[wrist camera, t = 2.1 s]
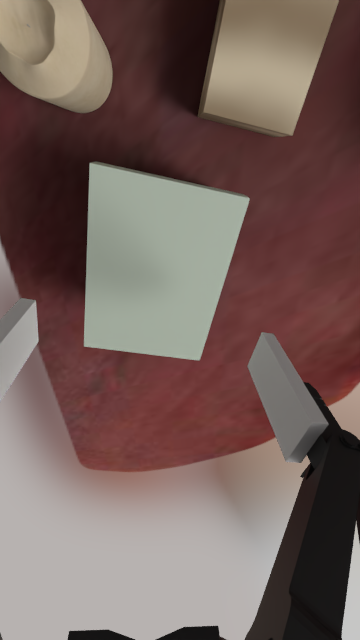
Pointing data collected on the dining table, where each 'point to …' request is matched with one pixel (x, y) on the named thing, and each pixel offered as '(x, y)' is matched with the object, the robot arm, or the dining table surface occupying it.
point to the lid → (155, 260)
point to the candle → (54, 53)
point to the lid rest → (263, 62)
